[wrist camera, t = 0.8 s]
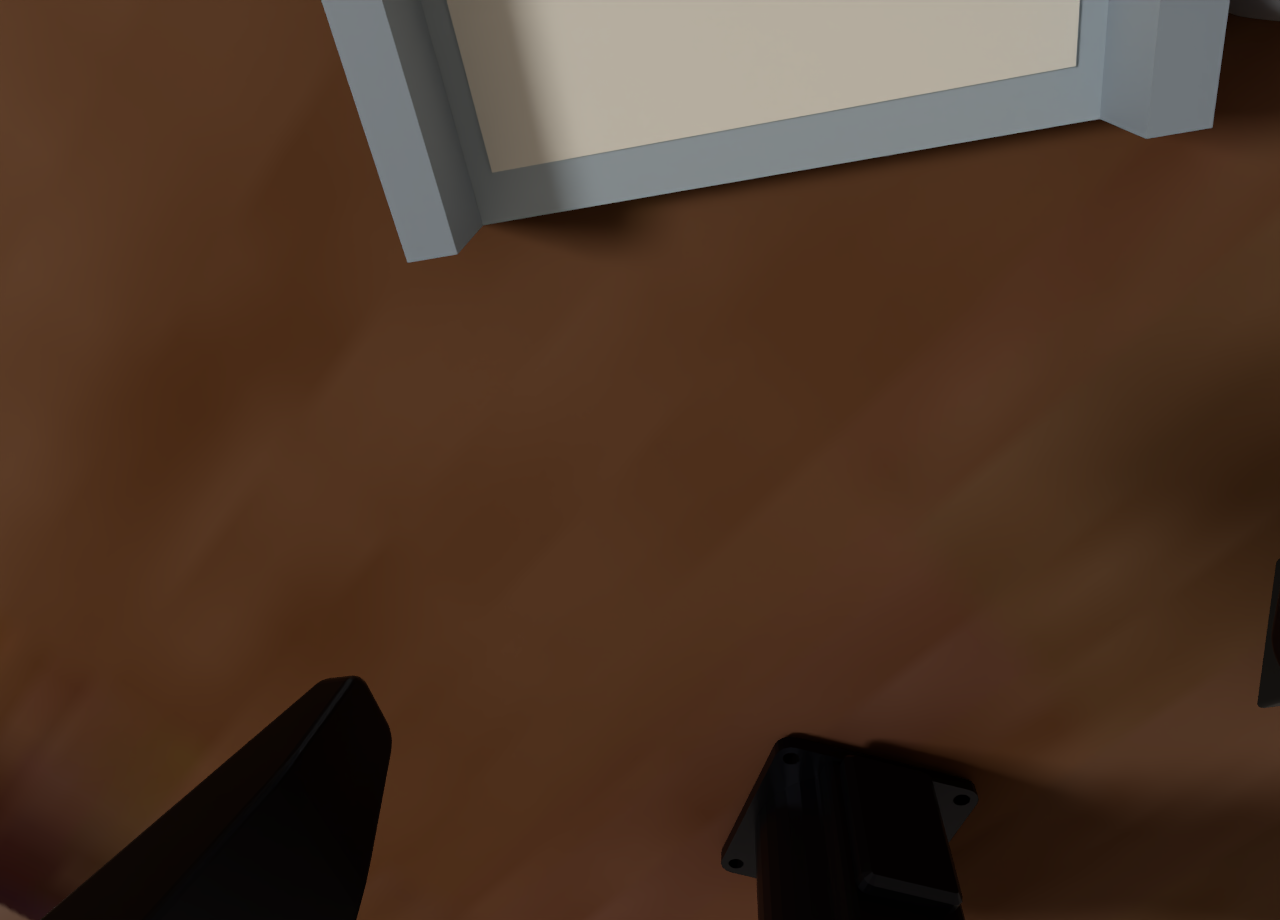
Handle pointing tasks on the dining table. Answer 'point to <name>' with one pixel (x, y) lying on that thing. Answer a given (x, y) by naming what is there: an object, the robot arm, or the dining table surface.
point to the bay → (737, 90)
